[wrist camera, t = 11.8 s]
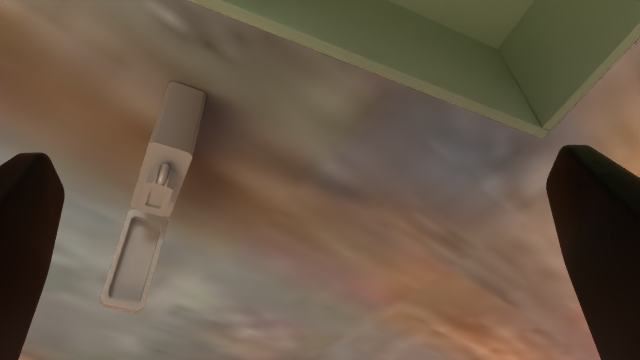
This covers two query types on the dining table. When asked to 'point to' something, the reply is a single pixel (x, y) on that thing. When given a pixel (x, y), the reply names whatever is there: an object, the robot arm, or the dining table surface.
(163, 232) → the lighter
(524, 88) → the carton
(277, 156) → the dining table surface
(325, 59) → the dining table surface
